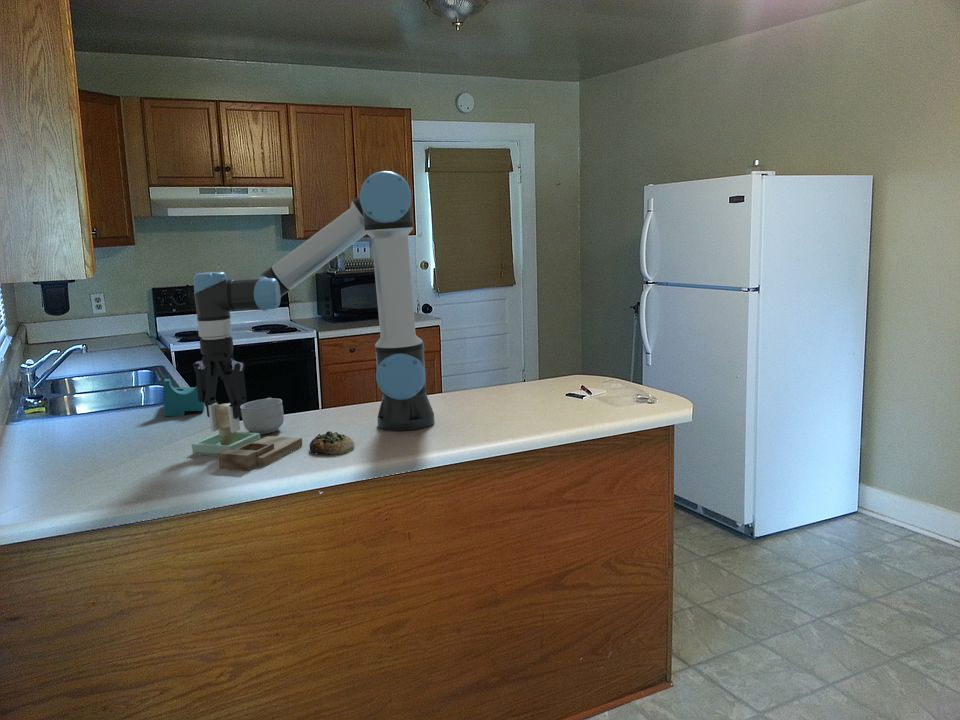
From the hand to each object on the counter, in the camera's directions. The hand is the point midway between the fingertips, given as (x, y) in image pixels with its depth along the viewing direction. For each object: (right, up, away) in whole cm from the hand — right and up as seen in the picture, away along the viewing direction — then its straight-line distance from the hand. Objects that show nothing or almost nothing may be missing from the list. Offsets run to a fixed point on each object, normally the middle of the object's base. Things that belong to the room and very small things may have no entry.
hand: (225, 430), depth 188 cm
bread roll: (+27, -5, -3) cm, 28 cm away
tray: (0, -4, +1) cm, 5 cm away
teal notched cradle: (-27, +2, +46) cm, 54 cm away
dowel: (0, -4, +2) cm, 4 cm away
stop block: (+8, -7, -15) cm, 18 cm away
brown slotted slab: (+12, -6, -6) cm, 14 cm away
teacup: (+5, -2, +17) cm, 18 cm away
